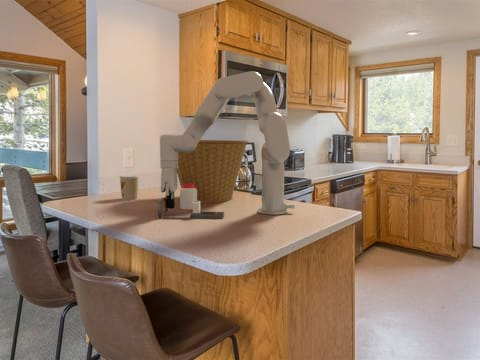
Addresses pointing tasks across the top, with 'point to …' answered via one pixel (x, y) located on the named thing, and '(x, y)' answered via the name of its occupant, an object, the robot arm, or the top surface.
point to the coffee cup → (129, 187)
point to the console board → (208, 215)
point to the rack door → (163, 205)
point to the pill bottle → (187, 196)
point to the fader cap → (196, 207)
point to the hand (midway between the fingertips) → (170, 208)
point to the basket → (212, 168)
